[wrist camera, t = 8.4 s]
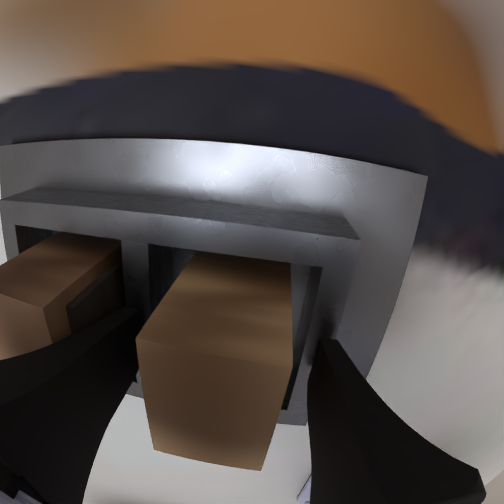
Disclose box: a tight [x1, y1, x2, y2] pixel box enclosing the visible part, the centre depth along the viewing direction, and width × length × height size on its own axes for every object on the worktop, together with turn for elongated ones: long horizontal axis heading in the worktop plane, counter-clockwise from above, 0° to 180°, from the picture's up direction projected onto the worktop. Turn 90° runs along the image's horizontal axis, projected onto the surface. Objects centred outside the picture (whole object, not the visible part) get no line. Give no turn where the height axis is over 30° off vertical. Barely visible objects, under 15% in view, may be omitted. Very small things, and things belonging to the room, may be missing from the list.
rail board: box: [0, 138, 428, 426], centre depth 12 cm, size 20×13×4 cm, turn 84°
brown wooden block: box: [0, 231, 126, 360], centre depth 11 cm, size 4×5×6 cm
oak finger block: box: [136, 250, 293, 471], centre depth 10 cm, size 4×5×6 cm
